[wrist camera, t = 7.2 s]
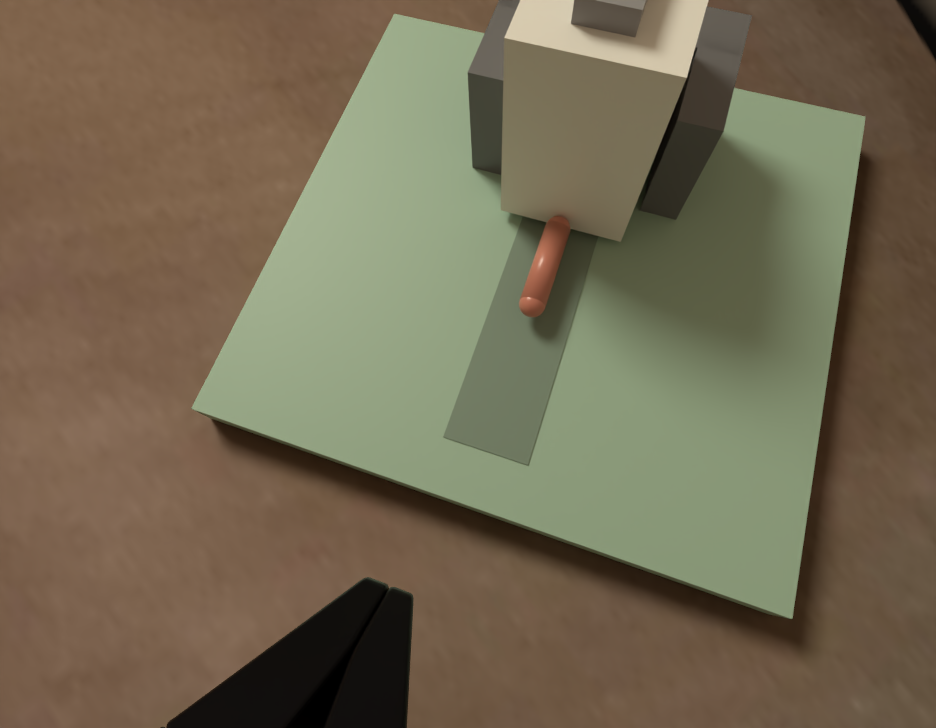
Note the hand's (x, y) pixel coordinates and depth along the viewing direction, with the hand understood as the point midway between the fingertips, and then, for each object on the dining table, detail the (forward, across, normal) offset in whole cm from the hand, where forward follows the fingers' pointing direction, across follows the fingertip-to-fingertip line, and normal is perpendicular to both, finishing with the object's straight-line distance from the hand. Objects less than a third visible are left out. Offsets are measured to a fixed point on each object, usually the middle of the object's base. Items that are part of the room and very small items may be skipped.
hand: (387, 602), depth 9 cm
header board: (+18, 0, -1) cm, 18 cm away
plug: (+17, 0, -3) cm, 17 cm away
